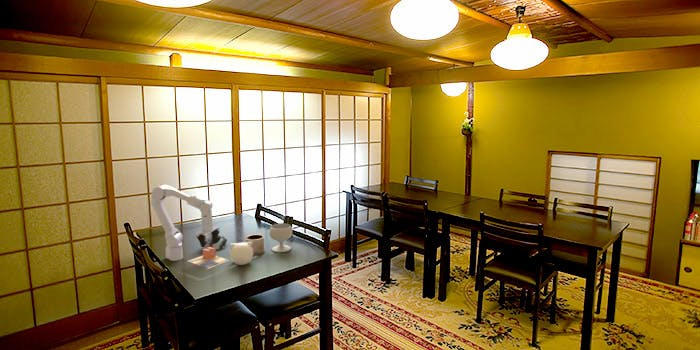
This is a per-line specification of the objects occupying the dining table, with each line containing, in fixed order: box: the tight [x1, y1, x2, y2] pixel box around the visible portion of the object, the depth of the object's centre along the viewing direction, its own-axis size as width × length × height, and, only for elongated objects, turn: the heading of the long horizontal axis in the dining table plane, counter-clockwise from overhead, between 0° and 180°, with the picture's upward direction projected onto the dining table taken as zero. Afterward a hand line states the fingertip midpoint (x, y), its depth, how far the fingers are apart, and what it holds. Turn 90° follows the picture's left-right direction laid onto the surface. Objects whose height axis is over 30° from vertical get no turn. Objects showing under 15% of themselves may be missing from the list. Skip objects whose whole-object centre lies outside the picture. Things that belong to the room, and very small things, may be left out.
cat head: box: [228, 242, 254, 266], centre depth 211 cm, size 15×13×12 cm
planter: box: [245, 233, 265, 255], centre depth 230 cm, size 11×11×10 cm
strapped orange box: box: [202, 247, 217, 260], centre depth 219 cm, size 5×5×5 cm
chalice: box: [268, 222, 293, 253], centre depth 234 cm, size 14×14×15 cm
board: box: [187, 255, 231, 270], centre depth 214 cm, size 19×14×4 cm
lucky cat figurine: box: [203, 232, 228, 252], centre depth 234 cm, size 15×12×14 cm
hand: (208, 245), depth 218 cm, fingers open, 7 cm apart
